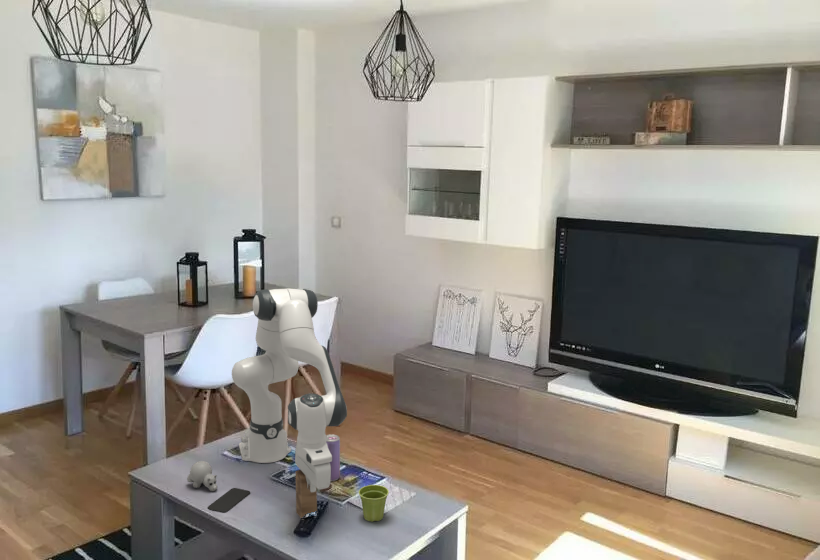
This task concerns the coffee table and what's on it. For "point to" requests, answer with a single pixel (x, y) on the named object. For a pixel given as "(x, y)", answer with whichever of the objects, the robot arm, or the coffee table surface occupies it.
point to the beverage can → (334, 455)
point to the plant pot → (373, 501)
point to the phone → (229, 500)
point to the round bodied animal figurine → (202, 476)
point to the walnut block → (304, 496)
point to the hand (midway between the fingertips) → (311, 490)
